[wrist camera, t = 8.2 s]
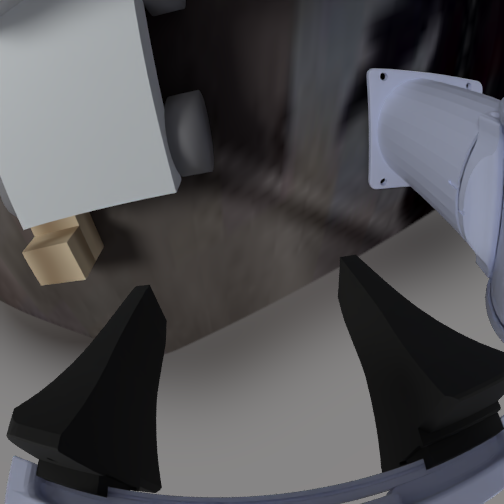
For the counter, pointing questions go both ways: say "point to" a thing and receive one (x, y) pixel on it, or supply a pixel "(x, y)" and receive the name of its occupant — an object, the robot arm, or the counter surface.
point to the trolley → (90, 110)
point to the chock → (64, 249)
